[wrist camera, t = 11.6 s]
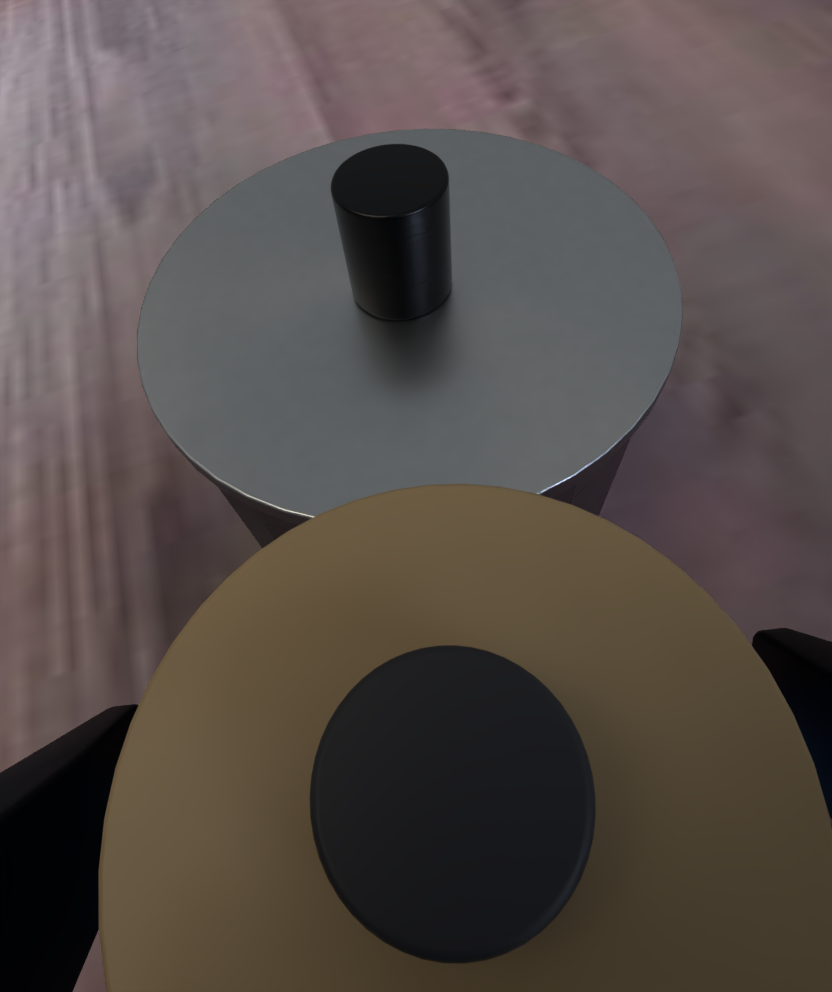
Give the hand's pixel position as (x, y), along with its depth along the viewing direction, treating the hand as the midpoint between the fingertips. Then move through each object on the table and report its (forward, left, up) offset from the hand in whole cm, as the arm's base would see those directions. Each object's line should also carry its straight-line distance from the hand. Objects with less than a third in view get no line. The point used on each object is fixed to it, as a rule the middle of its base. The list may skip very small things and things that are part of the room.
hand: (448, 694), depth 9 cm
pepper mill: (-2, 0, -7) cm, 7 cm away
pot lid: (+9, +1, -1) cm, 9 cm away
